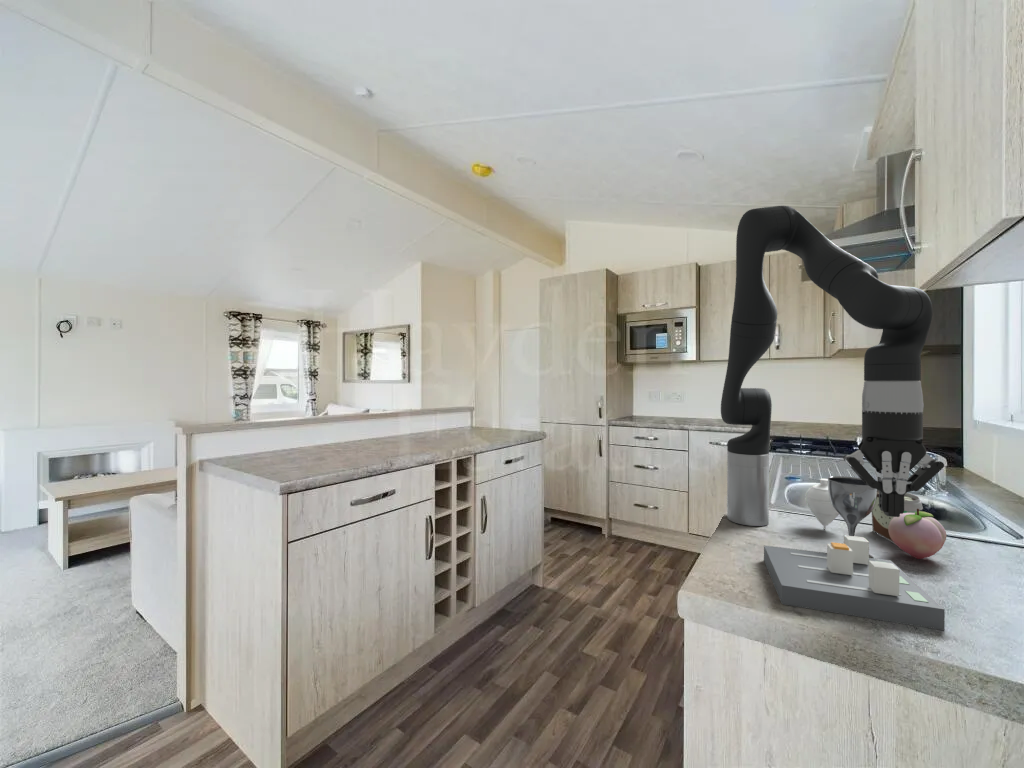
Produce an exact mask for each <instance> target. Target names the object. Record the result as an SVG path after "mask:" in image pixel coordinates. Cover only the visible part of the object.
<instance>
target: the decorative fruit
mask: <svg viewBox="0 0 1024 768" xmlns="http://www.w3.org/2000/svg"><path fill="white" fill-rule="evenodd" d="M934 517H935V516H934V515H933V514H932V513H929V512H926V511H922V510H919V509H917V512H915V513H903V514H900V517H894V518H893V519H892V520H891V521H890V523H889V526H888V532H889V535H890V537H891V539H892V541H893V542H894V543H895V544H894V543H893V544H894V545H896V546H897V547H898V548H899V549H901V550H902V552H904V553H906V554H908V555H910V556H911V557H913V558H915V559H916V560H922V559H926V558H930V557H932V556H934V555H935V554H937V553H938V552H939V551H940V550H942V549H943V546H944V545H945V543H946V541H947V531H946V529H945V528H944V527H945V526H943V525H942V524H941V523H940V522H939V521H938V520H937V519H936V518H934Z"/></svg>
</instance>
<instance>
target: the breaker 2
mask: <svg viewBox="0 0 1024 768" xmlns="http://www.w3.org/2000/svg"><path fill="white" fill-rule="evenodd" d="M893 563H894V562H893ZM893 563H885V562H877V561H869V587H870V588H871V589H872V590H873V592H874V593H879V594H886V595H893V596H899V573H900V570H899V569H898V568H897V567H898V566H897V565H896V564H895V563H894V564H895V565H896V566H897V567H896V566H895V565H894V564H893Z"/></svg>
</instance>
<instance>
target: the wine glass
mask: <svg viewBox="0 0 1024 768" xmlns="http://www.w3.org/2000/svg"><path fill="white" fill-rule="evenodd" d="M827 479H828V493H829V498H830V502H831V504H832V506H833V508H834V509H835V510H836V511H837V512H838V513H839V516H840V517H841V518H842V519H843V521H844V522H845V524H846V526H847V530H848V536H856V535H855V533H856V530H857V529H856V528H857V526H858V525H859V523H860V522H861V521H863V520H864V519H865V518H867V517H868V516H869V515H870V514H872V511H873V509H874V506H875V503H876V498H877V489H874V488H871V487H870V486H868V485H866V484H865V483H864V482H863V481H862V480H861V478H860V477H855V476H854V477H853V476H842V475H841V476H840V475H839V476H838V475H837V476H836V475H835V476H834V475H833V476H829V477H827ZM869 558H874V556H873V555H872V554H870V553H869ZM874 559H875V558H874Z"/></svg>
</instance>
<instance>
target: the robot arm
mask: <svg viewBox="0 0 1024 768" xmlns="http://www.w3.org/2000/svg"><path fill="white" fill-rule="evenodd" d="M736 231H737V232H736V238H735V239H736V241H735V243H736V244H735V250H736V251H735V256H736V257H735V270H736V271H735V288H734V298H733V299H734V300H733V301H734V302H733V307H732V314H731V324H730V333H729V349H728V359H727V366H726V371H725V379H724V383H723V387H722V388H723V389H722V393H721V394H722V395H721V400H720V416H721V419H722V421H723V422H724V423H725V424H727V425H736V426H739V425H740V426H751V428H750V430H749V431H748V432H746V433H744V434H742V435H740V436H735V437H733V438H730V439H729V440H728V441H727V444H726V445H727V448H726V449H727V454H726V455H727V456H726V457H727V458H726V459H727V462H726V463H727V464H726V465H727V468H726V469H727V471H726V472H727V473H726V474H727V476H726V477H727V483H726V484H727V485H726V486H727V487H726V488H727V491H726V493H727V494H726V495H727V496H726V499H727V500H726V501H727V503H726V507H727V508H726V512H727V513H726V515H727V516H726V518H727V520H729V521H730V522H733V523H736V524H739V525H744V526H749V527H761V526H762V527H763V526H767V525H768V524H769V521H770V519H769V518H770V517H769V516H770V515H769V514H770V509H769V508H770V443H771V442H770V441H771V422H772V408H773V407H772V406H773V404H772V397H771V394H770V392H769V391H768V389H765V388H759V387H758V388H757V387H754V388H753V387H750V388H749V387H747V388H746V387H742V386H743V383H744V380H745V378H746V377H747V375H748V373H749V372H750V371H751V369H752V368H753V366H754V365H755V364H756V363H757V362H758V361H759V360H760V359H761V358H762V357H764V354H765V353H766V352H767V351H768V349H769V348H770V347H771V346H772V344H773V342H774V340H775V336H776V328H777V322H778V321H777V320H778V308H777V305H776V302H775V301H774V298H773V296H772V294H771V292H770V290H769V289H768V286H767V285H766V282H765V278H764V261H765V253H771V252H778V251H787V252H788V253H791V254H794V255H795V256H798V257H799V258H800V259H801V260H802V261H803V266H804V270H805V273H806V275H807V276H808V278H809V279H810V280H811V282H812V283H814V285H816V286H817V287H818V288H820V289H821V290H823V291H824V292H825V293H827V294H829V295H830V296H831V297H833V298H834V299H836V300H837V301H838V303H839V304H840V306H841V307H842V308H843V310H844V311H845V312H846V314H848V316H849V317H851V319H852V320H854V321H855V322H857V323H859V324H860V325H861V326H864V327H866V328H869V329H873V330H882V333H881V335H880V340H879V343H878V344H876V345H873V346H870V347H869V348H867V349H866V351H865V353H864V358H863V359H864V360H863V365H864V366H863V389H862V394H861V441H860V442H859V444H858V446H857V450H856V451H854V452H852V453H850V454H844V456H843V458H842V459H843V460H844V462H845V463H846V464H847V466H849V467H850V468H851V469H852V470H853V472H854V473H855V474H856V475H857V476H858V478H861V480H862V481H863V482H864V483H865V484H866V485H868V486H870V487H871V488H874V489H878V491H879V508H880V510H881V511H883V512H884V514H885V515H887V516H892V517H900V514H903V512H904V495H905V494H906V493H910V492H919V491H920V490H921V489H922V488H923V487H924V486H925V485H926V484H927V483H928V482H930V480H932V479H933V478H934V477H935V476H936V475H937V474H938V473H939V472H940V471H941V470H943V469H944V467H945V464H944V462H942V461H940V460H936V459H935V458H933V457H932V456H930V455H929V454H928V453H927V448H926V446H925V445H924V444H923V443H924V442H923V438H924V423H923V422H924V408H925V404H924V395H923V388H922V381H921V380H922V373H921V372H922V371H921V370H922V365H921V364H922V361H921V356H922V352H923V349H924V346H925V344H926V341H927V337H928V334H929V331H930V327H931V323H932V320H933V311H934V310H933V304H932V301H931V298H930V297H929V295H928V293H926V292H925V291H924V290H923V289H921V288H918V287H914V286H907V285H905V286H904V285H891V284H888V283H886V282H884V281H882V280H880V279H879V274H878V272H877V270H876V269H875V268H874V267H873V266H871V265H870V264H868V263H867V262H865V261H863V260H861V259H859V258H858V257H857V256H855V255H853V254H851V253H849V252H848V251H846V250H844V249H843V248H842V247H840V246H838V245H837V244H835V243H834V242H833V241H831V240H830V239H829V238H828V237H826V236H825V234H823V233H822V232H821V231H820V230H819V229H818V228H817V227H815V225H813V223H812V222H810V221H809V220H808V219H807V218H806V217H805V216H804V215H803V214H802V213H801V212H800V211H798V210H797V209H796V208H794V207H792V206H789V205H774V206H766V207H765V206H764V207H757V208H751V209H749V210H747V211H746V212H744V213H743V214H742V216H741V217H740V220H739V223H738V225H737V230H736ZM863 457H864V458H863ZM864 459H866V461H867V462H868V463H869V464H870V466H872V467H873V468H874V475H875V477H876V479H875V478H874V477H873V476H872V475H871V473H869V471H868V470H866V468H865V467H864V466H863V465H864V464H865V460H864ZM917 465H918V466H919V468H917V469H916V470H915V471H914V472H913V473H912V474H911V475H910V471H911V470H913V469H914V467H916V466H917ZM909 475H910V476H909Z"/></svg>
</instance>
